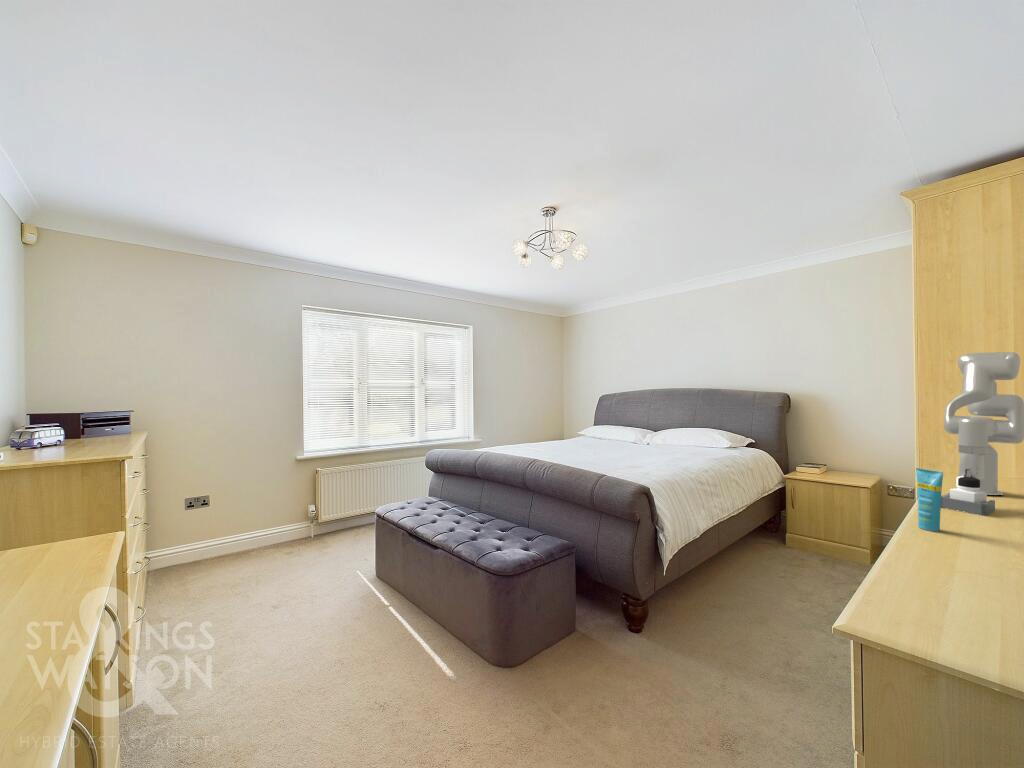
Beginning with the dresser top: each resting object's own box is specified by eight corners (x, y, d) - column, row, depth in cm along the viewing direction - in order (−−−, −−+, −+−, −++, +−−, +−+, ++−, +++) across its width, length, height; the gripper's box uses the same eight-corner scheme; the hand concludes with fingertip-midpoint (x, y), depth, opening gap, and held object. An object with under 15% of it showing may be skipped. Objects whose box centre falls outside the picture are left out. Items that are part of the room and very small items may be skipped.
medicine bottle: (986, 511, 155) (987, 478, 155) (974, 513, 153) (975, 480, 153) (961, 505, 162) (961, 474, 162) (949, 507, 159) (949, 475, 159)
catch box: (949, 503, 165) (949, 493, 165) (995, 511, 155) (995, 500, 155) (939, 507, 160) (939, 496, 160) (985, 516, 149) (985, 504, 149)
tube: (910, 526, 139) (910, 467, 139) (920, 524, 140) (920, 467, 140) (938, 533, 131) (939, 472, 131) (948, 532, 133) (949, 471, 133)
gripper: (965, 447, 167) (965, 493, 167) (952, 450, 160) (951, 498, 160) (993, 450, 161) (993, 498, 161) (980, 453, 154) (980, 503, 154)
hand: (972, 498), depth 161 cm, fingers closed
